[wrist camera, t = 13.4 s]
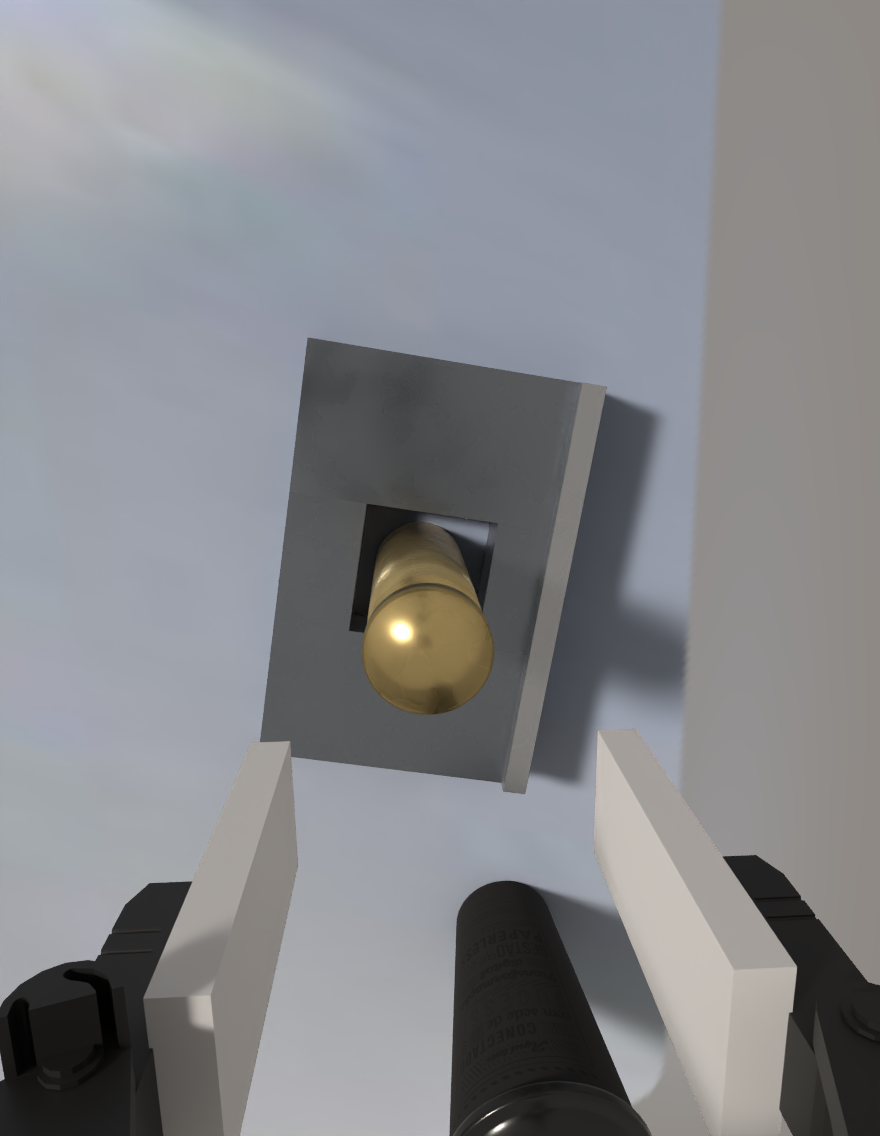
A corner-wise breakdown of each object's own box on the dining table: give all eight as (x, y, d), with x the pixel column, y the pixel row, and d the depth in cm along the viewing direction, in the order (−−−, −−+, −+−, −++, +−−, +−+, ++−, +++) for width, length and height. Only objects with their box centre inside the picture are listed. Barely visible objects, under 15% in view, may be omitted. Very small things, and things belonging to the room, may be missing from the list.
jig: (314, 341, 33) (305, 336, 30) (587, 386, 34) (607, 386, 31) (268, 728, 37) (255, 761, 34) (514, 759, 38) (525, 794, 35)
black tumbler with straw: (470, 832, 39) (539, 1275, 20) (602, 889, 40) (790, 1361, 21) (403, 952, 41) (403, 1476, 21) (532, 1004, 42) (646, 1548, 22)
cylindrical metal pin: (381, 514, 35) (371, 580, 24) (470, 528, 36) (505, 599, 24) (368, 601, 36) (353, 706, 25) (455, 614, 37) (482, 722, 25)
